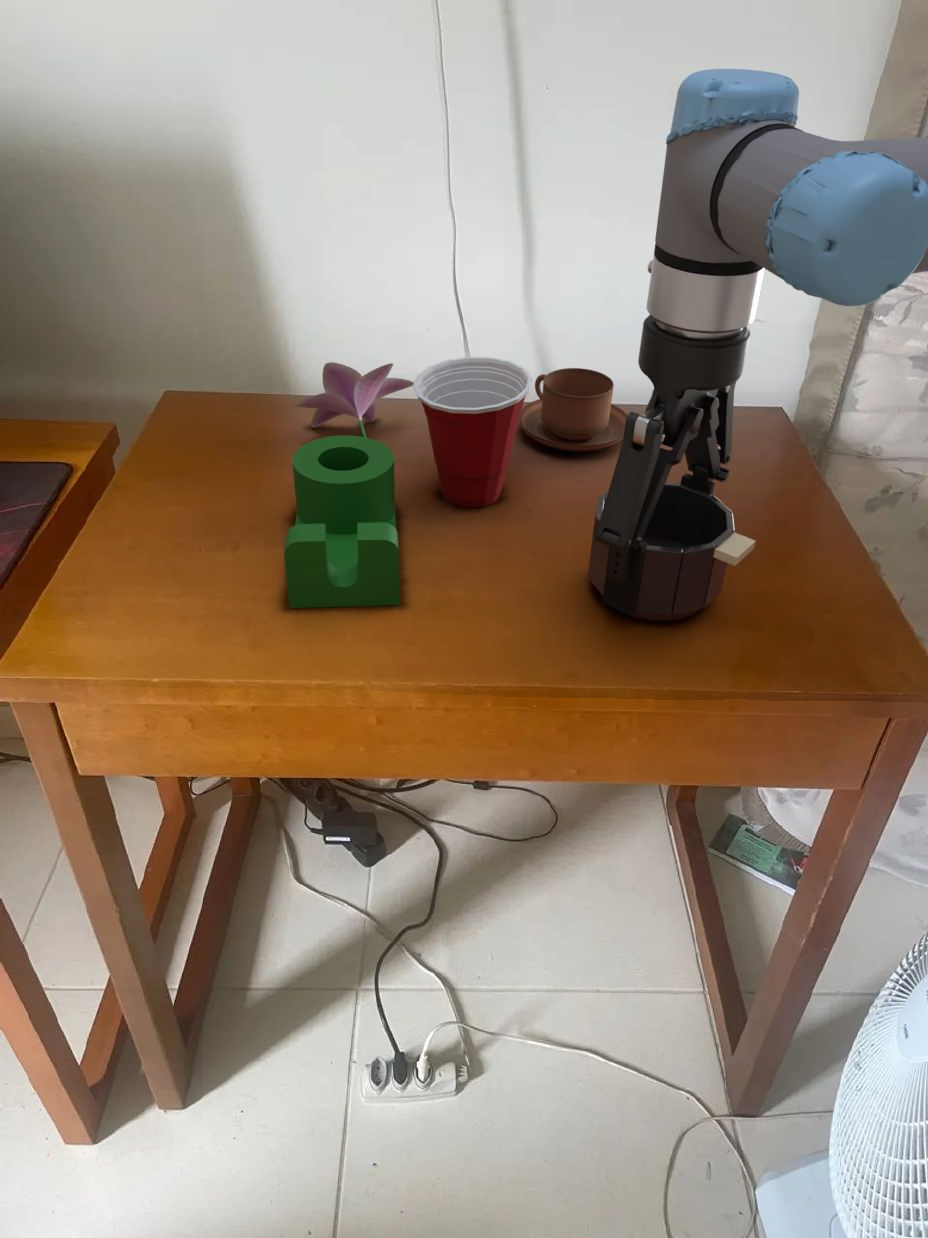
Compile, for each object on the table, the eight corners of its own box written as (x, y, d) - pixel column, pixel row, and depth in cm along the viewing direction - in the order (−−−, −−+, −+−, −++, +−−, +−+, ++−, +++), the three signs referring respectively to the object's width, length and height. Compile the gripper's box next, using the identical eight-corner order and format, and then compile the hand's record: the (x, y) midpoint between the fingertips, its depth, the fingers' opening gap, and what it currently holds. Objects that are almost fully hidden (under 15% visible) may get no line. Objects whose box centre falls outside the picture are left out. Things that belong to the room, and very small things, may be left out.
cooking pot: (563, 578, 82) (569, 516, 78) (632, 526, 89) (641, 467, 85) (699, 641, 76) (713, 577, 72) (762, 580, 83) (778, 518, 79)
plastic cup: (396, 478, 98) (394, 363, 91) (494, 458, 102) (499, 347, 94) (440, 532, 90) (442, 411, 83) (544, 508, 94) (554, 391, 87)
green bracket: (300, 496, 95) (295, 436, 91) (393, 494, 95) (392, 434, 91) (289, 608, 80) (282, 541, 76) (399, 604, 81) (398, 539, 77)
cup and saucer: (498, 443, 104) (501, 389, 101) (547, 402, 113) (551, 351, 109) (602, 472, 100) (609, 416, 96) (645, 427, 108) (653, 374, 105)
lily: (432, 437, 108) (409, 349, 106) (412, 444, 96) (386, 345, 94) (330, 464, 110) (305, 378, 108) (299, 473, 98) (271, 378, 96)
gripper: (721, 268, 79) (678, 504, 92) (563, 356, 64) (539, 623, 77) (810, 289, 75) (752, 531, 89) (667, 387, 60) (623, 661, 73)
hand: (653, 574), depth 83 cm, fingers closed on cooking pot, 11 cm apart
